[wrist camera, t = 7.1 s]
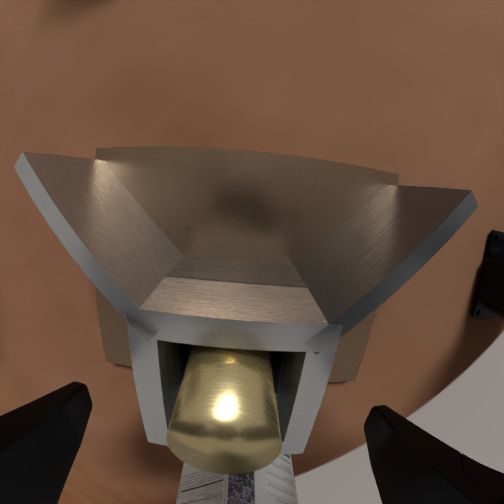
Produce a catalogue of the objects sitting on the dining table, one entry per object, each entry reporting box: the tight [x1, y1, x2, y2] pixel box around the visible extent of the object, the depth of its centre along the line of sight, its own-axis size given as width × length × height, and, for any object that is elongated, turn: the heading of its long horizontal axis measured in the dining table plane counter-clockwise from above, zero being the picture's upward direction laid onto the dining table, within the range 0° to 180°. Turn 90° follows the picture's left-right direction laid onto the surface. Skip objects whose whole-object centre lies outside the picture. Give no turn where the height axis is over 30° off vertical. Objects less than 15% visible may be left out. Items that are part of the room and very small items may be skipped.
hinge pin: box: [166, 345, 282, 474], centre depth 10 cm, size 3×3×8 cm
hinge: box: [14, 147, 478, 455], centre depth 11 cm, size 15×12×7 cm
